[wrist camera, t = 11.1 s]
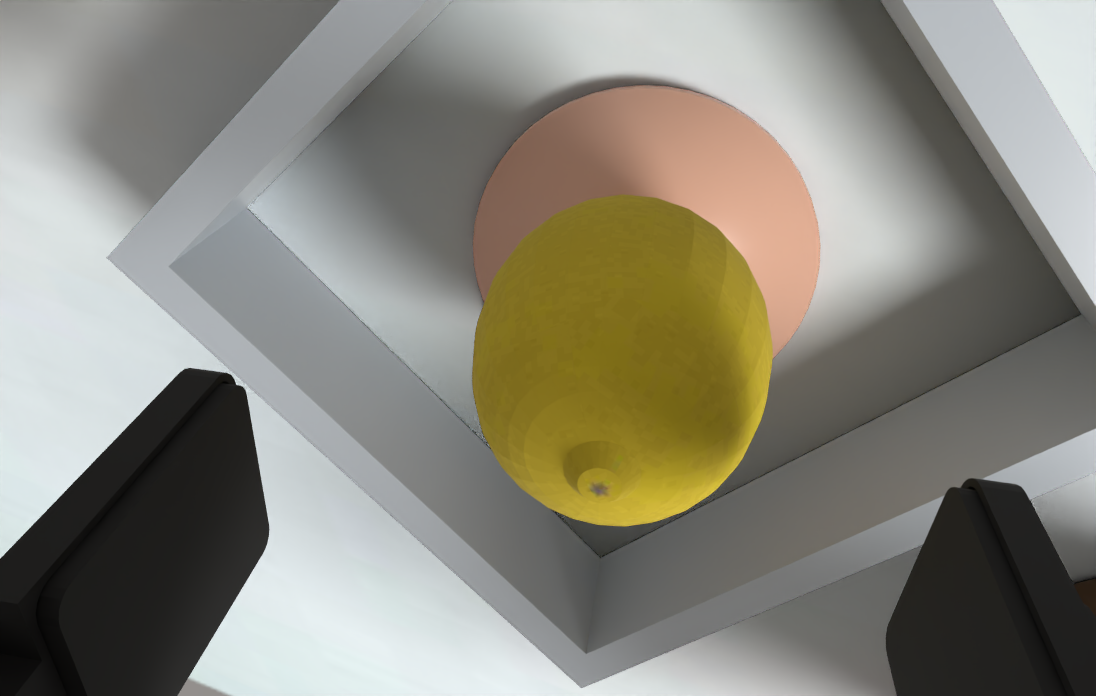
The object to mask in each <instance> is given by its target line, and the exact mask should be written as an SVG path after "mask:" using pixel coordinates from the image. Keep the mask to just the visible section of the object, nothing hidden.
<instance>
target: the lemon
mask: <svg viewBox="0 0 1096 696" xmlns="http://www.w3.org/2000/svg"><path fill="white" fill-rule="evenodd" d="M772 359H773V346H772V338H771V332H770V326H769V320H768V314H767V309H766V304H765V300H764V297H763V295H762V292H761V290H760V288H759V286H758V284H757V282H756V280H755V278H754V276H753V274H752V272H751V270H750V268H749V266H748V264H747V262H746V260H745V259H744V257H743V256H742V255H741V253H740V252H739V251H738V250H737V249H736V248H735V247H734V245H733V244H732V243H731V242H730V241H729V240H728V239H727V238H726V236H725V235H724V234H723V233H722V232H721V231H720V230H719V229H718V228H717V227H716V226H714V225H713V224H711V223H710V222H708V221H707V220H705V219H704V218H702V217H700V216H699V215H697V214H696V213H694V212H693V211H691V210H690V209H688V208H685V207H682V206H679V205H676V204H673V203H670V202H668V201H665V200H662V199H659V198H654V197H644V196H634V195H624V194H622V195H615V196H608V197H601V198H594V199H589V200H587V201H584V202H582V203H579V204H577V205H575V206H572V207H570V208H567V209H565V210H562V211H560V212H558V213H556V214H554V215H553V216H552V217H550V218H549V219H548V220H546V221H545V222H544V223H542V224H541V225H540V226H538V227H537V228H536V229H534V230H533V231H532V232H530V233H529V234H528V235H527V236H526V237H524V238H523V239H522V240H521V242H520V243H519V244H518V246H517V247H516V248H515V250H514V251H513V252H512V253H511V255H510V256H509V257H508V259H507V260H506V261H505V263H504V264H503V265H502V267H501V268H500V269H499V271H498V272H497V274H496V276H495V277H494V279H493V281H492V284H491V286H490V289H489V292H488V295H487V297H486V300H485V303H484V305H483V308H482V311H481V313H480V316H479V319H478V322H477V327H476V332H475V341H474V356H473V371H472V386H473V395H474V399H475V404H476V408H477V413H478V417H479V421H480V425H481V429H482V432H483V435H484V437H485V439H486V440H487V442H488V444H489V446H490V448H491V450H492V451H493V453H494V455H495V457H496V459H497V461H498V462H499V464H500V465H501V467H502V468H503V469H504V470H505V472H506V473H507V474H508V475H509V476H510V477H511V478H512V479H513V480H514V481H515V483H516V484H517V485H518V486H519V487H520V488H521V489H522V490H524V491H525V492H527V493H528V494H529V495H531V496H532V497H534V498H535V499H536V500H538V501H539V502H541V503H542V504H543V505H545V506H546V507H548V508H549V509H552V510H554V511H556V512H558V513H561V514H563V515H565V516H567V517H570V518H572V519H576V520H580V521H584V522H588V523H592V524H596V525H608V526H632V525H639V524H646V523H652V522H656V521H659V520H662V519H665V518H668V517H670V516H673V515H676V514H679V513H681V512H684V511H686V510H688V509H689V508H691V507H692V506H694V505H695V504H697V503H698V502H700V501H702V500H703V499H705V498H706V497H708V496H709V495H710V494H712V493H713V492H714V491H715V490H717V489H718V487H719V486H720V485H721V484H722V483H723V482H724V481H725V480H726V479H727V477H728V476H729V475H730V474H731V473H732V472H733V471H734V470H735V469H736V467H737V466H738V464H739V463H740V462H741V460H742V459H743V457H744V455H745V453H746V451H747V449H748V447H749V444H750V442H751V440H752V438H753V436H754V434H755V432H756V430H757V428H758V426H759V423H760V421H761V419H762V415H763V412H764V409H765V405H766V400H767V395H768V388H769V381H770V375H771V368H772Z"/></svg>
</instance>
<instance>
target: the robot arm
mask: <svg viewBox="0 0 1096 696" xmlns="http://www.w3.org/2000/svg"><path fill="white" fill-rule="evenodd" d="M268 537H269V523H268V517H267V511H266V505H265V499H264V493H263V487H262V482H261V476H260V470H259V464H258V458H257V452H256V447H255V441H254V435H253V429H252V423H251V417H250V411H249V406H248V400H247V395H246V391H245V389H244V388H243V387H242V386H239V385H236V383H235V380H234V378H233V377H232V376H231V375H230V374H228V373H222V372H215V371H208V370H201V369H194V368H188V369H184V370H183V371H182V372H180V373H179V374H178V375H177V376H176V377H175V378H174V379H173V380H172V381H171V382H170V383H169V384H168V385H167V387H166V388H165V389H164V390H163V391H162V392H161V393H160V394H159V395H158V396H157V397H156V398H155V399H154V400H153V401H152V402H151V403H150V404H149V405H148V406H147V407H146V408H145V409H144V410H143V411H142V412H141V413H140V415H139V416H138V417H137V418H136V419H135V420H134V421H133V422H132V423H131V424H130V425H129V426H128V427H127V428H126V429H125V430H124V431H123V432H122V433H121V434H120V435H119V436H118V437H117V438H116V439H115V440H114V441H113V443H112V444H111V445H110V446H109V447H108V448H107V449H106V450H105V451H104V452H103V453H102V454H101V455H100V456H99V457H98V458H97V459H96V460H95V461H94V462H93V463H92V464H91V465H90V466H89V467H88V468H87V469H86V471H85V472H84V473H83V474H82V475H81V476H80V477H79V478H78V479H77V480H76V481H75V482H74V483H73V484H72V485H71V486H70V487H69V488H68V489H67V490H66V491H65V492H64V493H63V494H62V495H61V496H60V497H59V498H58V500H57V501H56V502H55V503H54V504H53V505H52V506H51V507H50V508H49V509H48V510H47V511H46V512H45V513H44V514H43V515H42V516H41V517H40V518H39V519H38V520H37V521H36V522H35V523H34V524H33V525H32V526H31V528H30V529H29V530H28V531H27V532H26V533H25V534H24V535H23V536H22V537H21V538H20V539H19V540H18V541H17V542H16V543H15V544H14V545H13V546H12V547H11V548H10V549H9V550H8V551H7V552H6V553H5V554H4V556H3V557H2V558H1V559H0V696H177V695H178V694H179V692H180V690H181V689H182V687H183V685H184V683H185V682H186V680H187V679H188V677H189V675H190V674H191V672H192V670H193V669H194V667H195V665H196V664H197V662H198V660H199V659H200V657H201V656H202V654H203V652H204V651H205V649H206V647H207V646H208V644H209V642H210V641H211V639H212V637H213V636H214V634H215V632H216V631H217V629H218V627H219V626H220V624H221V622H222V621H223V619H224V617H225V616H226V614H227V612H228V611H229V609H230V607H231V606H232V604H233V602H234V601H235V599H236V597H237V596H238V594H239V592H240V591H241V589H242V587H243V586H244V584H245V582H246V581H247V579H248V577H249V576H250V574H251V572H252V571H253V569H254V567H255V566H256V564H257V562H258V561H259V559H260V557H261V556H262V554H263V552H264V550H265V548H266V545H267V542H268ZM886 651H887V656H888V661H889V665H890V669H891V673H892V677H893V681H894V685H895V689H896V693H897V696H1096V617H1095V615H1094V614H1093V612H1092V611H1091V609H1090V608H1089V607H1088V606H1087V605H1085V604H1084V603H1083V602H1082V600H1081V598H1080V596H1079V594H1078V592H1077V590H1076V588H1075V586H1074V585H1073V583H1072V581H1071V579H1070V577H1069V575H1068V573H1067V571H1066V569H1065V567H1064V565H1063V563H1062V561H1061V559H1060V558H1059V556H1058V554H1057V552H1056V550H1055V548H1054V546H1053V544H1052V542H1051V540H1050V538H1049V536H1048V534H1047V532H1046V530H1045V529H1044V527H1043V525H1042V523H1041V521H1040V519H1039V517H1038V515H1037V513H1036V511H1035V509H1034V507H1033V505H1032V503H1031V501H1030V500H1029V498H1028V496H1027V494H1026V492H1025V491H1024V489H1023V488H1022V487H1021V486H1019V485H1017V484H1012V483H1005V482H997V481H990V480H983V479H976V478H969V479H967V480H966V481H965V482H964V483H963V484H962V486H961V488H958V487H951V488H950V489H948V490H947V492H946V494H945V496H944V498H943V500H942V503H941V505H940V507H939V509H938V512H937V514H936V516H935V519H934V521H933V523H932V525H931V528H930V530H929V532H928V535H927V537H926V539H925V542H924V544H923V546H922V548H921V551H920V553H919V555H918V558H917V560H916V562H915V564H914V567H913V569H912V571H911V574H910V576H909V578H908V580H907V583H906V585H905V587H904V590H903V592H902V594H901V596H900V599H899V601H898V603H897V606H896V608H895V610H894V612H893V615H892V617H891V619H890V622H889V624H888V627H887V633H886Z"/></svg>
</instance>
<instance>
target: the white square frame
mask: <svg viewBox="0 0 1096 696" xmlns="http://www.w3.org/2000/svg"><path fill="white" fill-rule="evenodd" d="M452 1H453V0H339V2H338V3H337V4H336V5H335V6H334V7H333V8H332V9H331V10H330V11H329V13H328V14H327V15H326V16H325V17H324V18H323V19H322V20H321V21H320V23H319V24H318V25H317V26H316V27H315V28H314V29H313V30H312V31H311V32H310V34H309V35H308V36H307V37H306V38H305V39H304V40H303V41H302V42H301V44H300V45H299V46H298V47H297V48H296V49H295V50H294V51H293V52H292V53H291V55H290V56H289V57H288V58H287V59H286V60H285V61H284V62H283V63H282V65H281V66H280V67H279V68H278V69H277V70H276V71H275V72H274V73H273V74H272V76H271V77H270V78H269V79H268V80H267V81H266V82H265V83H264V84H263V86H262V87H261V88H260V89H259V90H258V91H257V92H256V93H255V94H254V95H253V97H252V98H251V99H250V100H249V101H248V102H247V103H246V104H245V105H244V107H243V108H242V109H241V110H240V111H239V112H238V113H237V114H236V115H235V116H234V118H233V119H232V120H231V121H230V122H229V123H228V124H227V125H226V126H225V128H224V129H223V130H222V131H221V132H220V133H219V134H218V135H217V136H216V137H215V139H214V140H213V141H212V142H211V143H210V144H209V145H208V146H207V147H206V149H205V150H204V151H203V152H202V153H201V154H200V155H199V156H198V157H197V158H196V160H195V161H194V162H193V163H192V164H191V165H190V166H189V167H188V168H187V170H186V171H185V172H184V173H183V174H182V175H181V176H180V177H179V178H178V179H177V181H176V182H175V183H174V184H173V185H172V186H171V187H170V188H169V189H168V191H167V192H166V193H165V194H164V195H163V196H162V197H161V198H160V199H159V200H158V202H157V203H156V204H155V205H154V206H153V207H152V208H151V209H150V210H149V212H148V213H147V214H146V215H145V216H144V217H143V218H142V219H141V220H140V222H139V223H138V224H137V225H136V226H135V227H134V228H133V229H132V230H131V231H130V233H129V234H128V235H127V236H126V237H125V238H124V239H123V240H122V241H121V243H120V244H119V245H118V246H117V247H116V248H115V249H114V250H113V251H112V252H111V254H110V255H109V256H108V257H107V259H108V260H109V261H111V262H112V263H113V264H114V265H115V266H116V267H117V268H118V269H119V270H120V271H122V272H123V273H124V274H125V275H126V276H127V277H128V278H129V279H130V280H132V281H133V282H134V283H135V284H136V285H137V286H138V287H139V288H140V289H141V290H143V291H144V292H145V293H146V294H147V295H148V296H149V297H150V298H151V299H152V300H154V301H155V302H156V303H157V304H158V305H159V306H160V307H161V308H162V309H164V310H165V311H166V312H167V313H168V314H169V315H170V316H171V317H172V318H173V319H175V320H176V321H177V322H178V323H179V324H180V325H181V326H182V327H183V328H185V329H186V330H187V331H188V332H189V333H190V334H191V335H192V336H193V337H194V338H196V339H197V340H198V341H199V342H200V343H201V344H202V345H203V346H204V347H205V348H207V349H208V350H209V351H210V352H211V353H212V354H213V355H214V356H215V357H217V358H218V359H219V360H220V361H221V362H222V363H223V364H224V365H225V366H226V367H228V368H229V369H230V370H231V371H232V372H233V373H234V374H235V375H236V376H237V377H239V378H240V379H241V380H242V381H243V382H244V383H245V384H246V385H247V386H249V387H250V388H251V389H252V390H253V391H254V392H255V393H256V394H257V395H258V396H260V397H261V398H262V399H263V400H264V401H265V402H266V403H267V404H268V405H269V406H271V407H272V408H273V409H274V410H275V411H276V412H277V413H278V414H279V415H281V416H282V417H283V418H284V419H285V420H286V421H287V422H288V423H289V424H290V425H292V426H293V427H294V428H295V429H296V430H297V431H298V432H299V433H300V434H301V435H303V436H304V437H305V438H306V439H307V440H308V441H309V442H310V443H311V444H313V445H314V446H315V447H316V448H317V449H318V450H319V451H320V452H321V453H322V454H324V455H325V456H326V457H327V458H328V459H329V460H330V461H331V462H332V463H334V464H335V465H336V466H337V467H338V468H339V469H340V470H341V471H342V472H343V473H345V474H346V475H347V476H348V477H349V478H350V479H351V480H352V481H353V482H354V483H356V484H357V485H358V486H359V487H360V488H361V489H362V490H363V491H364V492H366V493H367V494H368V495H369V496H370V497H371V498H372V499H373V500H374V501H375V502H377V503H378V504H379V505H380V506H381V507H382V508H383V509H384V510H385V511H386V512H388V513H389V514H390V515H391V516H392V517H393V518H394V519H395V520H396V521H398V522H399V523H400V524H401V525H402V526H403V527H404V528H405V529H406V530H407V531H409V532H410V533H411V534H412V535H413V536H414V537H415V538H416V539H417V540H418V541H420V542H421V543H422V544H423V545H424V546H425V547H426V548H427V549H428V550H430V551H431V552H432V553H433V554H434V555H435V556H436V557H437V558H438V559H439V560H441V561H442V562H443V563H444V564H445V565H446V566H447V567H448V568H449V569H451V570H452V571H453V572H454V573H455V574H456V575H457V576H458V577H459V578H460V579H462V580H463V581H464V582H465V583H466V584H467V585H468V586H469V587H470V588H471V589H473V590H474V591H475V592H476V593H477V594H478V595H479V596H480V597H481V598H483V599H484V600H485V601H486V602H487V603H488V604H489V605H490V606H491V607H492V608H494V609H495V610H496V611H497V612H498V613H499V614H500V615H501V616H502V617H503V618H505V619H506V620H507V621H508V622H509V623H510V624H511V625H512V626H513V627H515V628H516V629H517V630H518V631H519V632H520V633H521V634H522V635H523V636H524V637H526V638H527V639H528V640H529V641H530V642H531V643H532V644H533V645H534V646H535V647H537V648H538V649H539V650H540V651H541V652H542V653H543V654H544V655H545V656H547V657H548V658H549V659H550V660H551V661H552V662H553V663H554V664H555V665H556V666H558V667H559V668H560V669H561V670H562V671H563V672H564V673H565V674H566V675H568V676H569V677H570V678H571V679H572V680H573V681H574V682H575V683H576V684H577V685H579V686H580V687H581V688H583V687H586V686H588V685H590V684H593V683H595V682H597V681H600V680H602V679H605V678H607V677H609V676H612V675H614V674H616V673H619V672H621V671H624V670H626V669H628V668H631V667H633V666H636V665H638V664H640V663H643V662H645V661H647V660H650V659H652V658H655V657H657V656H659V655H662V654H664V653H666V652H669V651H671V650H674V649H676V648H678V647H681V646H683V645H686V644H688V643H690V642H693V641H695V640H697V639H700V638H702V637H705V636H707V635H709V634H712V633H714V632H716V631H719V630H721V629H724V628H726V627H728V626H731V625H733V624H736V623H738V622H740V621H743V620H745V619H747V618H750V617H752V616H755V615H757V614H759V613H762V612H764V611H767V610H769V609H771V608H774V607H776V606H778V605H781V604H783V603H786V602H788V601H790V600H793V599H795V598H797V597H800V596H802V595H805V594H807V593H809V592H812V591H814V590H817V589H819V588H821V587H824V586H826V585H828V584H831V583H833V582H836V581H838V580H840V579H843V578H845V577H847V576H850V575H852V574H855V573H857V572H859V571H862V570H864V569H867V568H869V567H871V566H874V565H876V564H878V563H881V562H883V561H886V560H888V559H890V558H893V557H895V556H897V555H900V554H902V553H905V552H907V551H909V550H912V549H914V548H917V547H919V546H921V545H923V544H924V542H925V539H926V537H927V535H928V532H929V530H930V528H931V525H932V523H933V521H934V519H935V516H936V514H937V512H938V509H939V507H940V505H941V503H942V500H943V498H944V496H945V494H946V492H947V490H948V489H950V488H951V487H958V488H961V486H962V484H963V483H964V482H965V481H966V480H967V479H969V478H976V479H983V480H990V481H997V482H1005V483H1012V484H1017V485H1019V486H1021V487H1022V488H1023V489H1024V491H1025V492H1026V494H1027V496H1028V498H1029V500H1031V499H1033V498H1036V497H1038V496H1040V495H1043V494H1045V493H1048V492H1050V491H1052V490H1055V489H1057V488H1059V487H1062V486H1064V485H1067V484H1069V483H1071V482H1074V481H1076V480H1078V479H1081V478H1083V477H1086V476H1088V475H1090V474H1093V473H1095V472H1096V173H1095V172H1094V170H1093V168H1092V167H1091V165H1090V163H1089V162H1088V160H1087V158H1086V157H1085V155H1084V153H1083V152H1082V150H1081V148H1080V146H1079V145H1078V143H1077V141H1076V140H1075V138H1074V136H1073V135H1072V133H1071V131H1070V130H1069V128H1068V126H1067V125H1066V123H1065V121H1064V119H1063V118H1062V116H1061V114H1060V113H1059V111H1058V109H1057V108H1056V106H1055V104H1054V103H1053V101H1052V99H1051V97H1050V96H1049V94H1048V92H1047V91H1046V89H1045V87H1044V86H1043V84H1042V82H1041V81H1040V79H1039V77H1038V76H1037V74H1036V72H1035V70H1034V69H1033V67H1032V65H1031V64H1030V62H1029V60H1028V59H1027V57H1026V55H1025V54H1024V52H1023V50H1022V49H1021V47H1020V45H1019V43H1018V42H1017V40H1016V38H1015V37H1014V35H1013V33H1012V32H1011V30H1010V28H1009V27H1008V25H1007V23H1006V21H1005V20H1004V18H1003V16H1002V15H1001V13H1000V11H999V10H998V8H997V6H996V5H995V3H994V1H993V0H880V1H881V2H882V4H883V6H884V7H885V9H886V10H887V12H888V13H889V15H890V16H891V18H892V20H893V21H894V23H895V24H896V26H897V27H898V29H899V30H900V32H901V34H902V35H903V37H904V38H905V40H906V41H907V43H908V45H909V46H910V48H911V49H912V51H913V52H914V54H915V55H916V57H917V59H918V60H919V62H920V63H921V65H922V66H923V68H924V69H925V71H926V73H927V74H928V76H929V77H930V79H931V80H932V82H933V83H934V85H935V87H936V88H937V90H938V91H939V93H940V94H941V96H942V98H943V99H944V101H945V102H946V104H947V105H948V107H949V108H950V110H951V112H952V113H953V115H954V116H955V118H956V119H957V121H958V122H959V124H960V126H961V127H962V129H963V130H964V132H965V133H966V135H967V137H968V138H969V140H970V141H971V143H972V144H973V146H974V147H975V149H976V151H977V152H978V154H979V155H980V157H981V158H982V160H983V161H984V163H985V165H986V166H987V168H988V169H989V171H990V172H991V174H992V175H993V177H994V179H995V180H996V182H997V183H998V185H999V186H1000V188H1001V190H1002V191H1003V193H1004V194H1005V196H1006V197H1007V199H1008V200H1009V202H1010V204H1011V205H1012V207H1013V208H1014V210H1015V211H1016V213H1017V214H1018V216H1019V218H1020V219H1021V221H1022V222H1023V224H1024V225H1025V227H1026V228H1027V230H1028V232H1029V233H1030V235H1031V236H1032V238H1033V239H1034V241H1035V243H1036V244H1037V246H1038V247H1039V249H1040V250H1041V252H1042V253H1043V255H1044V257H1045V258H1046V260H1047V261H1048V263H1049V264H1050V266H1051V267H1052V269H1053V271H1054V272H1055V274H1056V275H1057V277H1058V278H1059V280H1060V282H1061V283H1062V285H1063V286H1064V288H1065V289H1066V291H1067V292H1068V294H1069V296H1070V297H1071V299H1072V300H1073V302H1074V303H1075V305H1076V306H1077V308H1078V310H1079V311H1080V313H1081V315H1079V316H1077V317H1075V318H1073V319H1071V320H1069V321H1067V322H1065V323H1064V324H1062V325H1060V326H1058V327H1056V328H1054V329H1052V330H1050V331H1048V332H1046V333H1044V334H1042V335H1040V336H1038V337H1036V338H1034V339H1032V340H1030V341H1028V342H1026V343H1024V344H1022V345H1020V346H1018V347H1016V348H1014V349H1012V350H1010V351H1008V352H1006V353H1004V354H1002V355H1000V356H998V357H996V358H994V359H992V360H990V361H988V362H987V363H985V364H983V365H981V366H979V367H977V368H975V369H973V370H971V371H969V372H967V373H965V374H963V375H961V376H959V377H957V378H955V379H953V380H951V381H949V382H947V383H945V384H943V385H941V386H939V387H937V388H935V389H933V390H931V391H929V392H927V393H925V394H923V395H921V396H919V397H917V398H915V399H913V400H911V401H909V402H908V403H906V404H904V405H902V406H900V407H898V408H896V409H894V410H892V411H890V412H888V413H886V414H884V415H882V416H880V417H878V418H876V419H874V420H872V421H870V422H868V423H866V424H864V425H862V426H860V427H858V428H856V429H854V430H852V431H850V432H848V433H846V434H844V435H842V436H840V437H838V438H836V439H834V440H832V441H831V442H829V443H827V444H825V445H823V446H821V447H819V448H817V449H815V450H813V451H811V452H809V453H807V454H805V455H803V456H801V457H799V458H797V459H795V460H793V461H791V462H789V463H787V464H785V465H783V466H781V467H779V468H777V469H775V470H773V471H771V472H769V473H767V474H765V475H763V476H761V477H759V478H757V479H755V480H753V481H752V482H750V483H748V484H746V485H744V486H742V487H740V488H738V489H736V490H734V491H732V492H730V493H728V494H726V495H724V496H722V497H720V498H718V499H716V500H714V501H712V502H710V503H708V504H706V505H704V506H702V507H700V508H698V509H696V510H694V511H692V512H690V513H688V514H686V515H684V516H682V517H680V518H678V519H676V520H675V521H673V522H671V523H669V524H667V525H665V526H663V527H661V528H659V529H657V530H655V531H653V532H651V533H649V534H647V535H645V536H643V537H641V538H639V539H637V540H635V541H633V542H631V543H629V544H627V545H625V546H623V547H621V548H619V549H617V550H615V551H613V552H611V553H609V554H607V555H605V556H603V557H601V558H600V557H599V556H598V555H597V554H596V553H595V552H594V551H593V550H592V549H591V548H590V547H589V546H588V545H587V544H586V543H585V542H584V541H583V540H582V539H581V538H579V537H578V536H577V535H576V534H575V533H574V532H573V531H572V530H571V529H570V528H569V527H568V526H567V525H566V524H565V523H564V522H563V521H562V520H561V519H560V518H559V517H558V516H557V515H556V514H555V513H554V512H553V511H552V510H551V509H549V508H548V507H546V506H545V505H543V504H542V503H541V502H539V501H538V500H536V499H535V498H534V497H532V496H531V495H529V494H528V493H527V492H525V491H524V490H522V489H521V488H520V487H519V486H518V485H517V484H516V483H515V481H514V480H513V479H512V478H511V477H510V476H509V475H508V474H507V473H506V472H505V470H504V469H503V468H502V467H501V465H500V464H499V462H498V461H497V459H496V457H495V455H494V453H493V451H492V450H491V449H490V448H489V447H488V446H487V445H486V444H485V443H484V442H483V441H482V440H481V439H480V438H479V437H477V436H476V435H475V434H474V433H473V432H472V431H471V430H470V429H469V428H468V427H467V426H466V425H465V424H464V423H463V422H462V421H461V420H460V419H459V418H458V417H457V416H456V415H455V414H454V413H453V412H452V411H451V410H450V409H449V408H448V407H447V406H446V405H445V404H444V403H443V402H442V401H441V400H440V399H439V398H438V397H437V396H436V395H435V394H434V393H433V392H432V391H431V390H430V389H429V388H428V387H427V386H426V385H425V384H424V383H423V382H422V381H421V380H420V379H419V378H418V377H417V376H416V375H415V374H414V373H413V372H412V371H411V370H410V369H409V368H408V367H407V366H406V365H405V364H404V363H403V362H402V361H401V360H400V359H399V358H398V357H397V356H396V355H395V354H394V353H393V352H392V351H391V350H390V349H389V348H388V347H387V346H386V345H385V344H384V343H383V342H382V341H381V340H380V339H379V338H378V337H377V336H375V335H374V334H373V333H372V332H371V331H370V330H369V329H368V328H367V327H366V326H365V325H364V324H363V323H362V322H361V321H360V320H359V319H358V318H357V317H356V316H355V315H354V314H353V313H352V312H351V311H350V310H349V309H348V308H347V307H346V306H345V305H344V304H343V303H342V302H341V301H340V300H339V299H338V298H337V297H336V296H335V295H334V294H333V293H332V292H331V291H330V290H329V289H328V288H327V287H326V286H325V285H324V284H323V283H322V282H321V281H320V280H319V279H318V278H317V277H316V276H315V275H314V274H313V273H312V272H311V271H310V270H309V269H308V268H307V267H306V266H305V265H304V264H303V263H302V262H301V261H300V260H299V259H298V258H297V257H296V256H295V255H294V254H293V253H292V252H291V251H290V250H289V249H288V248H287V247H286V246H285V245H284V244H283V243H282V242H281V241H280V240H279V239H278V238H277V237H276V236H275V235H273V234H272V233H271V232H270V231H269V230H268V229H267V228H266V227H265V226H264V225H263V224H262V223H261V222H260V221H259V220H258V219H257V218H256V217H255V216H254V215H253V214H252V213H251V212H250V211H249V210H248V209H247V207H248V206H249V205H250V204H251V203H252V202H253V201H254V200H255V199H256V198H257V197H258V196H259V195H260V194H261V193H262V192H263V191H264V190H265V189H266V188H267V187H268V186H269V185H270V184H271V183H272V182H273V181H274V180H275V179H276V178H277V177H278V176H279V175H280V174H281V173H282V172H283V171H284V170H285V169H286V168H287V167H288V166H289V165H290V164H291V163H292V162H293V161H294V160H295V159H296V158H297V157H298V156H299V155H300V154H301V153H302V152H303V151H304V150H305V149H306V148H307V147H308V146H309V145H310V144H311V143H312V142H313V141H314V140H315V139H316V138H317V137H318V136H319V135H320V134H321V133H322V132H323V131H324V130H325V129H326V128H327V126H328V125H329V124H330V123H331V122H332V121H333V120H334V119H335V118H336V117H337V116H338V115H339V114H340V113H341V112H342V111H343V110H344V109H345V108H346V107H347V106H348V105H349V104H350V103H351V102H352V101H353V100H354V99H355V98H356V97H357V96H358V95H359V94H360V93H361V92H362V91H363V90H364V89H365V88H366V87H367V86H368V85H369V84H370V83H371V82H372V81H373V80H374V79H375V78H376V77H377V76H378V75H379V74H380V73H381V72H382V71H383V70H384V69H385V68H386V67H387V66H388V65H389V64H390V63H391V62H392V61H393V60H394V59H395V58H396V57H397V56H398V55H399V54H400V53H401V52H402V51H403V50H404V49H405V48H406V47H407V46H408V45H409V44H410V43H411V42H412V41H413V40H414V39H415V38H416V37H417V36H418V35H419V34H420V33H421V32H422V31H423V30H424V29H425V28H426V27H427V26H428V25H429V24H430V23H431V22H432V21H433V20H434V19H435V18H436V17H437V16H438V15H439V14H440V13H441V12H442V11H443V10H444V9H445V8H446V7H447V6H448V5H449V4H450V3H451V2H452ZM622 194H624V195H634V196H644V197H654V198H659V199H662V200H665V201H668V202H670V203H673V204H676V205H679V206H682V207H685V208H688V209H690V210H691V211H693V212H694V213H696V214H697V215H699V216H700V217H702V218H704V219H705V220H707V221H708V222H710V223H711V224H713V225H714V226H716V227H717V228H718V229H719V230H720V231H721V232H722V233H723V234H724V235H725V236H726V238H727V239H728V240H729V241H730V242H731V243H732V244H733V245H734V247H735V248H736V249H737V250H738V251H739V252H740V253H741V255H742V256H743V257H744V259H745V260H746V262H747V264H748V266H749V268H750V270H751V272H752V274H753V276H754V278H755V280H756V282H757V284H758V286H759V288H760V290H761V292H762V295H763V297H764V300H765V304H766V309H767V314H768V320H769V326H770V332H771V338H772V346H773V358H774V357H775V356H776V355H777V354H778V353H779V352H780V351H781V350H782V349H783V347H784V346H785V345H786V344H787V343H788V341H789V340H790V339H791V337H792V336H793V334H794V333H795V331H796V330H797V329H798V327H799V325H800V323H801V322H802V320H803V318H804V316H805V314H806V312H807V310H808V308H809V305H810V302H811V299H812V296H813V293H814V290H815V287H816V282H817V277H818V271H819V263H820V239H819V230H818V222H817V219H816V215H815V211H814V207H813V204H812V200H811V197H810V195H809V192H808V190H807V188H806V185H805V183H804V181H803V178H802V176H801V174H800V172H799V171H798V169H797V168H796V166H795V164H794V163H793V161H792V160H791V158H790V156H789V155H788V154H787V153H786V151H785V150H784V149H783V148H782V147H781V146H780V144H779V143H778V142H777V141H776V140H775V138H774V137H773V136H771V135H770V134H769V133H768V132H767V131H766V130H765V129H763V128H762V127H761V126H760V125H759V124H758V123H757V122H756V121H754V120H752V119H751V118H749V117H748V116H746V115H745V114H743V113H742V112H740V111H739V110H737V109H736V108H734V107H732V106H730V105H727V104H725V103H723V102H721V101H719V100H717V99H715V98H713V97H709V96H706V95H703V94H700V93H697V92H694V91H690V90H685V89H680V88H674V87H668V86H652V85H635V86H625V87H615V88H611V89H607V90H602V91H598V92H594V93H591V94H588V95H585V96H583V97H580V98H577V99H575V100H572V101H570V102H568V103H566V104H564V105H562V106H560V107H559V108H557V109H555V110H553V111H551V112H549V113H548V114H547V115H545V116H544V117H543V118H541V119H540V120H539V121H537V122H536V123H535V124H533V125H532V126H530V127H529V128H528V129H527V130H526V131H525V132H524V133H523V134H522V135H521V136H520V137H519V138H518V139H517V140H516V141H515V142H514V144H513V145H512V146H511V147H510V149H509V150H508V151H507V153H506V154H505V155H504V157H503V158H502V159H501V161H500V162H499V163H498V165H497V167H496V169H495V170H494V172H493V174H492V176H491V177H490V179H489V181H488V183H487V185H486V187H485V190H484V193H483V195H482V198H481V200H480V203H479V207H478V211H477V215H476V220H475V225H474V236H473V257H474V267H475V272H476V278H477V283H478V286H479V289H480V292H481V295H482V298H483V301H484V303H485V300H486V297H487V295H488V292H489V289H490V286H491V284H492V281H493V279H494V277H495V276H496V274H497V272H498V271H499V269H500V268H501V267H502V265H503V264H504V263H505V261H506V260H507V259H508V257H509V256H510V255H511V253H512V252H513V251H514V250H515V248H516V247H517V246H518V244H519V243H520V242H521V240H522V239H523V238H524V237H526V236H527V235H528V234H529V233H530V232H532V231H533V230H534V229H536V228H537V227H538V226H540V225H541V224H542V223H544V222H545V221H546V220H548V219H549V218H550V217H552V216H553V215H554V214H556V213H558V212H560V211H562V210H565V209H567V208H570V207H572V206H575V205H577V204H579V203H582V202H584V201H587V200H589V199H594V198H601V197H608V196H615V195H622Z"/></svg>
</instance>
